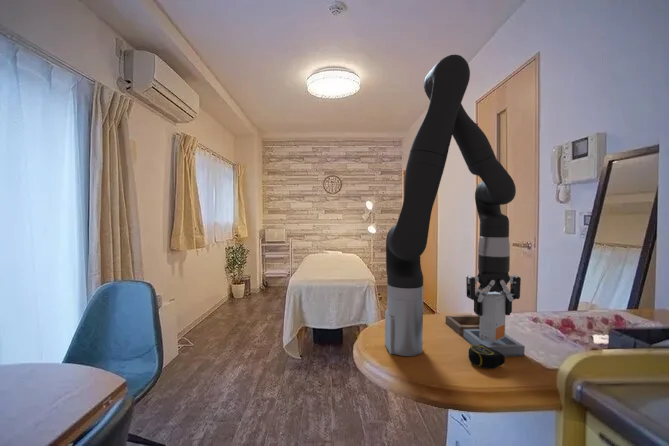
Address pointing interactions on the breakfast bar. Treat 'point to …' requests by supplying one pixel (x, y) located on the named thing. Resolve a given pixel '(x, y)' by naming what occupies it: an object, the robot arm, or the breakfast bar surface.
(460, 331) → the brown rectangular frame
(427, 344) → the breakfast bar surface
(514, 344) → the tray
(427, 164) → the robot arm
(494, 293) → the skincare box
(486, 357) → the tape measure
